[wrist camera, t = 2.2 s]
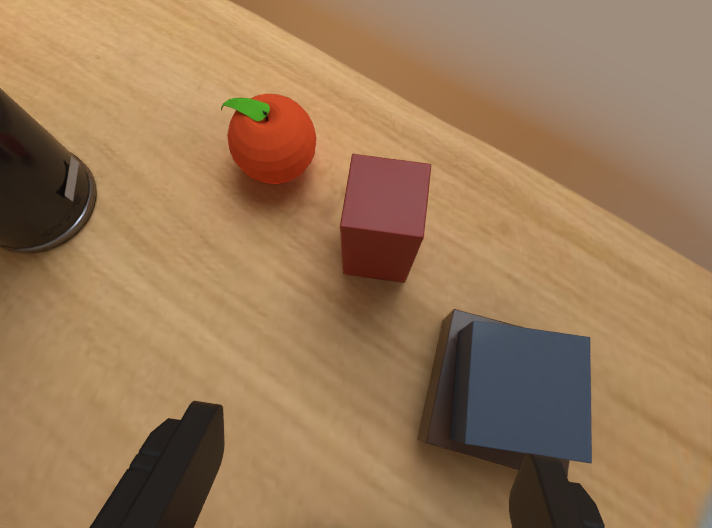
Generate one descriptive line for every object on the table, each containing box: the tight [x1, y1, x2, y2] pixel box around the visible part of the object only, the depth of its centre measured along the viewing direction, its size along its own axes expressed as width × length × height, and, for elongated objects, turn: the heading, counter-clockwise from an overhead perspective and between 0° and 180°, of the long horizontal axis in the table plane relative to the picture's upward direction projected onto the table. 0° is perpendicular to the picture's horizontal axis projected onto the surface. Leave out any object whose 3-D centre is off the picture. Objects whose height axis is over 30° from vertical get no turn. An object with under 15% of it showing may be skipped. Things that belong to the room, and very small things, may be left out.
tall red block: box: [340, 154, 431, 283], centre depth 32 cm, size 5×5×10 cm
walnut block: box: [418, 309, 569, 476], centre depth 32 cm, size 9×9×4 cm
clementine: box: [221, 94, 316, 184], centre depth 36 cm, size 8×7×7 cm
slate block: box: [450, 321, 592, 463], centre depth 28 cm, size 7×7×4 cm
